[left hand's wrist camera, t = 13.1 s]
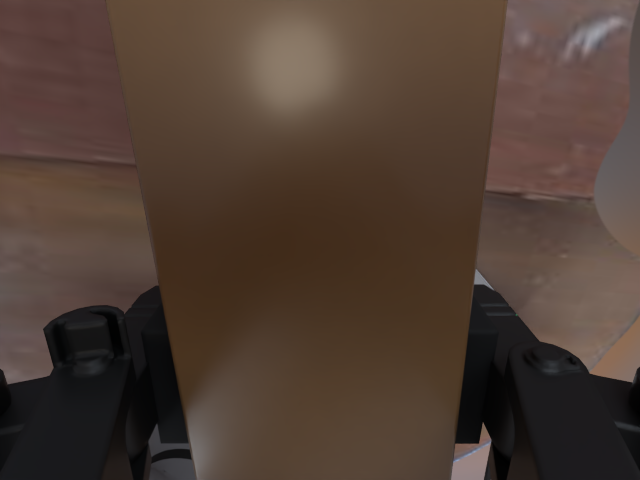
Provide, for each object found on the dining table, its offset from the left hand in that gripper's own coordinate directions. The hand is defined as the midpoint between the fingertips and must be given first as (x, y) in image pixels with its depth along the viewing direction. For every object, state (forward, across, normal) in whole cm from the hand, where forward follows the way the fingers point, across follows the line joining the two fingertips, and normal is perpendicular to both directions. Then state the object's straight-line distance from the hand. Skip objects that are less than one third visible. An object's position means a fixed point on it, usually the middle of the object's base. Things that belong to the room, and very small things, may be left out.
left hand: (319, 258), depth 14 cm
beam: (+1, 0, -20) cm, 20 cm away
